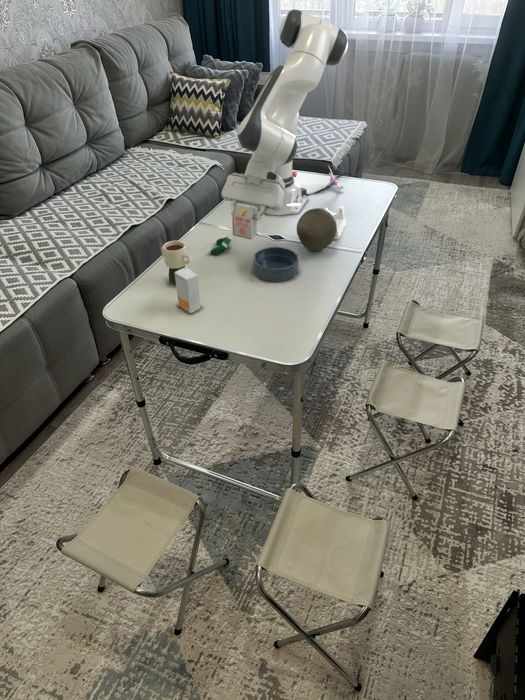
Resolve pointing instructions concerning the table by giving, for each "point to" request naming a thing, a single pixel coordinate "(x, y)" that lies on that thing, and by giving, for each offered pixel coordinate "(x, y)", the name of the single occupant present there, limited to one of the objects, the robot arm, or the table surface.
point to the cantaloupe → (316, 229)
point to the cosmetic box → (187, 290)
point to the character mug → (175, 257)
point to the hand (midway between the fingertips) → (245, 217)
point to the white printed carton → (244, 222)
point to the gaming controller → (221, 245)
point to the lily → (333, 181)
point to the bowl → (275, 263)
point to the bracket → (339, 220)
